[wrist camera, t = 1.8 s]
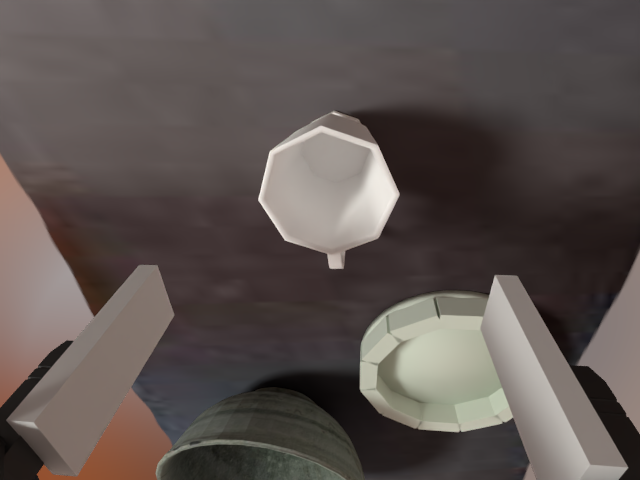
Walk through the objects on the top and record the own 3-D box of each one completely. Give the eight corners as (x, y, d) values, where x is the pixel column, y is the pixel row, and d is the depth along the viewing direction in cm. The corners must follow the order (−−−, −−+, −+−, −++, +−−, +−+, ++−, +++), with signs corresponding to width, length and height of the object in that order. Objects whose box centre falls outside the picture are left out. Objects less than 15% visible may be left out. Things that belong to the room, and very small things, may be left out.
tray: (362, 287, 31) (362, 311, 29) (560, 293, 30) (578, 320, 27) (358, 398, 40) (358, 425, 37) (511, 408, 38) (521, 436, 36)
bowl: (342, 468, 49) (338, 564, 40) (189, 433, 48) (152, 525, 39) (397, 376, 37) (408, 484, 29) (197, 328, 36) (148, 426, 28)
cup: (389, 84, 22) (402, 120, 16) (388, 225, 28) (396, 296, 21) (277, 93, 23) (243, 131, 16) (297, 227, 29) (277, 297, 22)
